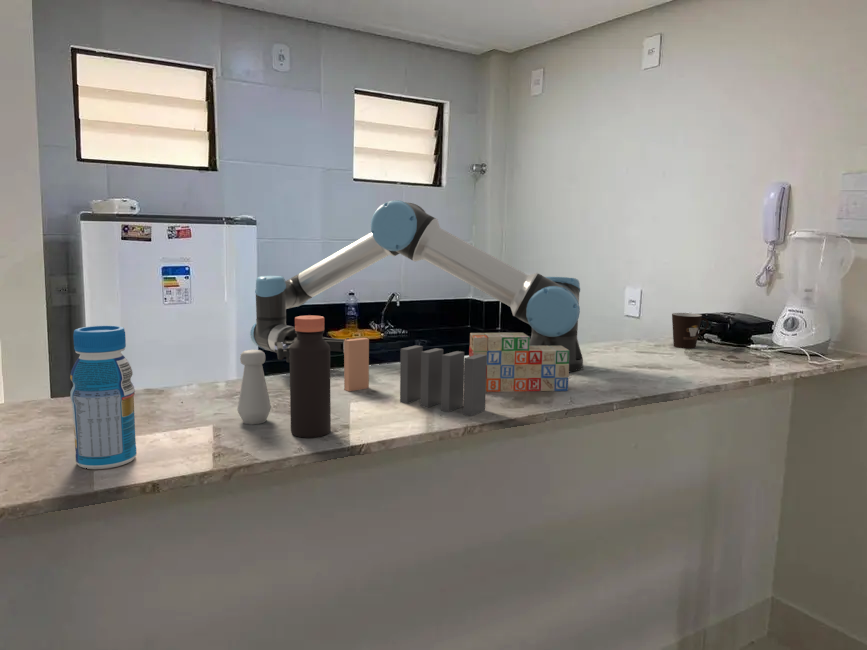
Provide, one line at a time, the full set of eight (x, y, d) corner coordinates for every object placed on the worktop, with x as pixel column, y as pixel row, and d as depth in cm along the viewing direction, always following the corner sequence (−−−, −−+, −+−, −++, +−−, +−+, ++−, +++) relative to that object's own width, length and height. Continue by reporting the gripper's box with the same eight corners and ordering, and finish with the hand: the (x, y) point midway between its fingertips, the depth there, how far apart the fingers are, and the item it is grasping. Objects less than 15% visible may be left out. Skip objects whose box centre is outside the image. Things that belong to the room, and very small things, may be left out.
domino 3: (441, 410, 130) (442, 354, 128) (455, 404, 134) (456, 351, 132) (448, 411, 129) (450, 356, 127) (463, 406, 133) (464, 352, 131)
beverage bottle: (88, 475, 94) (80, 335, 91) (65, 461, 99) (56, 328, 96) (147, 460, 100) (141, 328, 97) (123, 447, 105) (116, 322, 102)
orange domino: (344, 389, 145) (344, 339, 143) (364, 386, 148) (364, 337, 146) (348, 391, 143) (348, 341, 142) (368, 388, 147) (368, 338, 145)
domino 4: (463, 414, 127) (464, 358, 125) (477, 408, 131) (478, 354, 130) (471, 416, 126) (472, 359, 124) (485, 410, 130) (486, 355, 129)
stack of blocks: (560, 385, 153) (562, 332, 151) (568, 391, 147) (570, 336, 145) (468, 385, 151) (469, 331, 149) (472, 392, 145) (473, 336, 143)
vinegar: (296, 426, 118) (294, 314, 115) (334, 427, 118) (333, 315, 115) (286, 438, 111) (284, 319, 108) (326, 439, 111) (325, 320, 108)
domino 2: (420, 406, 133) (421, 351, 131) (435, 400, 137) (436, 348, 135) (427, 407, 132) (428, 352, 130) (442, 402, 136) (443, 349, 134)
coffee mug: (672, 348, 202) (674, 315, 200) (667, 343, 210) (669, 312, 209) (713, 350, 200) (715, 317, 198) (706, 345, 208) (708, 313, 207)
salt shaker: (260, 414, 125) (259, 346, 123) (277, 421, 121) (275, 351, 119) (231, 420, 121) (229, 350, 119) (247, 428, 117) (246, 355, 115)
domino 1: (400, 402, 135) (400, 348, 134) (415, 396, 140) (415, 345, 138) (407, 403, 134) (407, 349, 133) (422, 398, 139) (422, 346, 137)
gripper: (332, 350, 175) (379, 364, 159) (242, 362, 159) (285, 378, 143) (332, 322, 174) (380, 333, 158) (242, 331, 158) (285, 343, 142)
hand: (335, 354), depth 151 cm, fingers open, 13 cm apart
